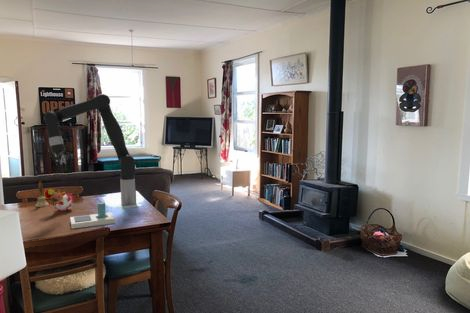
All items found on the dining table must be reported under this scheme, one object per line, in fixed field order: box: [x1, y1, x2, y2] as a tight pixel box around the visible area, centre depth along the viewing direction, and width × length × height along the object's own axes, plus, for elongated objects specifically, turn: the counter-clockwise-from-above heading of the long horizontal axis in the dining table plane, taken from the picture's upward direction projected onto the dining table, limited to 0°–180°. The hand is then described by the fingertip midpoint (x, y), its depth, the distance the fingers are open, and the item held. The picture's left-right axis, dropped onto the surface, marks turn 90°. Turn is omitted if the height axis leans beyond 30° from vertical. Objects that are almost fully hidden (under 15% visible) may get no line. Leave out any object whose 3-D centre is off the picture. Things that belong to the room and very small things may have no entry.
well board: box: [69, 211, 116, 229], centre depth 200 cm, size 22×14×3 cm, turn 117°
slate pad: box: [73, 214, 91, 222], centre depth 198 cm, size 8×10×1 cm
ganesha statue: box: [43, 187, 75, 212], centre depth 224 cm, size 14×14×20 cm
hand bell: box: [34, 181, 50, 208], centre depth 238 cm, size 8×8×16 cm
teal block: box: [97, 202, 107, 219], centre depth 202 cm, size 4×4×10 cm
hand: (62, 170), depth 217 cm, fingers open, 8 cm apart
